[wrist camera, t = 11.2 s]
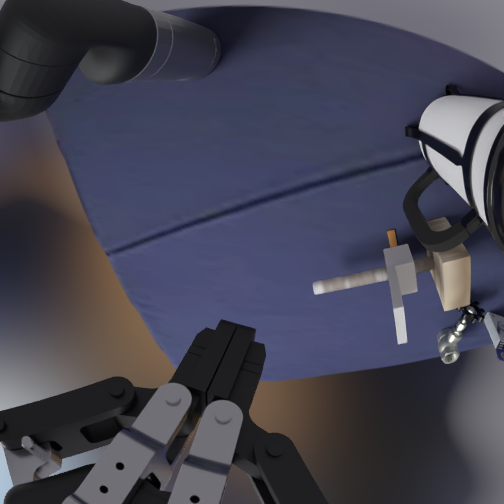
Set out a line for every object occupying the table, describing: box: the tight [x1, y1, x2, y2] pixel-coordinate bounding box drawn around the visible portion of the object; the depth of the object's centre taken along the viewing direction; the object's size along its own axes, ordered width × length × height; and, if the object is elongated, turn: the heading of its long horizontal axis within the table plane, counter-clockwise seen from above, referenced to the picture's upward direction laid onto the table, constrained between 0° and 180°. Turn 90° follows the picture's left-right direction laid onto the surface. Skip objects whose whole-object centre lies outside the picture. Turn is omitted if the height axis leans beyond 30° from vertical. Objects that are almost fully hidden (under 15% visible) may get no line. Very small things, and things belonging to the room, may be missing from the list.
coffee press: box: [403, 85, 504, 252], centre depth 22 cm, size 17×16×30 cm
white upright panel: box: [383, 244, 418, 344], centre depth 37 cm, size 4×6×14 cm, turn 23°
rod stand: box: [313, 217, 471, 311], centre depth 41 cm, size 23×8×12 cm, turn 113°
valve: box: [437, 301, 485, 364], centre depth 45 cm, size 7×7×12 cm
